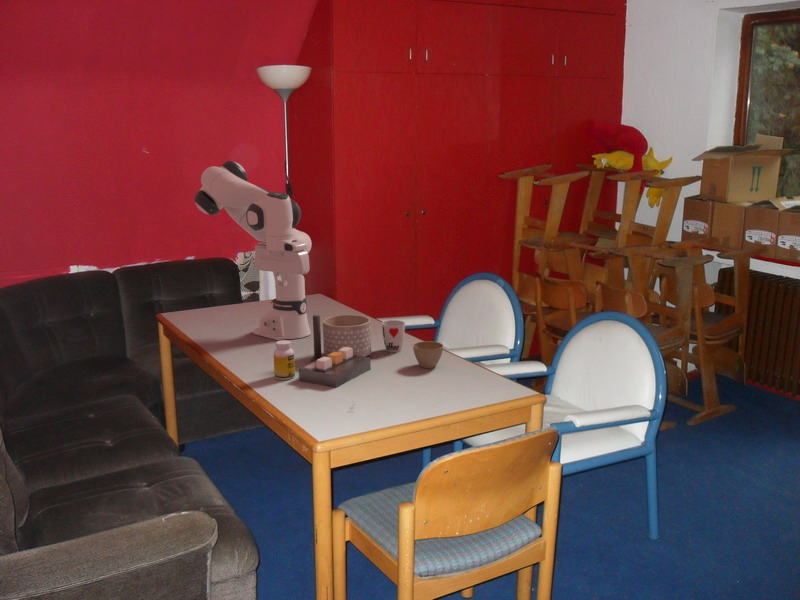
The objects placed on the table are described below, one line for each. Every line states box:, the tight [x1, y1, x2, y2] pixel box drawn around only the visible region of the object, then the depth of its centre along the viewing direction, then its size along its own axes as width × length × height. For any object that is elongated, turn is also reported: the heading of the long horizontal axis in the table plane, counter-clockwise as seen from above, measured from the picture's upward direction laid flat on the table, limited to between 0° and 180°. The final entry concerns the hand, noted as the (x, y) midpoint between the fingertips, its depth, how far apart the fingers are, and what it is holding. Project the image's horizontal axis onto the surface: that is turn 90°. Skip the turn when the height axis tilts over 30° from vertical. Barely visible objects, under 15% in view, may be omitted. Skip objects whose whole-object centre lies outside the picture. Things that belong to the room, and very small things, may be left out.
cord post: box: [310, 314, 323, 363], centre depth 254 cm, size 5×5×16 cm
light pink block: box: [316, 356, 332, 370], centre depth 236 cm, size 3×4×3 cm
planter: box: [322, 314, 372, 357], centre depth 261 cm, size 16×16×13 cm
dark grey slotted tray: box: [298, 355, 372, 388], centre depth 242 cm, size 14×20×4 cm
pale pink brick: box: [338, 347, 353, 359], centre depth 246 cm, size 3×4×3 cm
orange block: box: [328, 352, 343, 364], centre depth 241 cm, size 3×4×3 cm
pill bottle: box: [273, 339, 296, 381], centre depth 239 cm, size 6×6×12 cm
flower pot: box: [412, 340, 444, 369], centre depth 249 cm, size 10×10×7 cm
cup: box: [381, 319, 406, 353], centre depth 267 cm, size 8×8×10 cm
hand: (282, 285), depth 246 cm, fingers closed
